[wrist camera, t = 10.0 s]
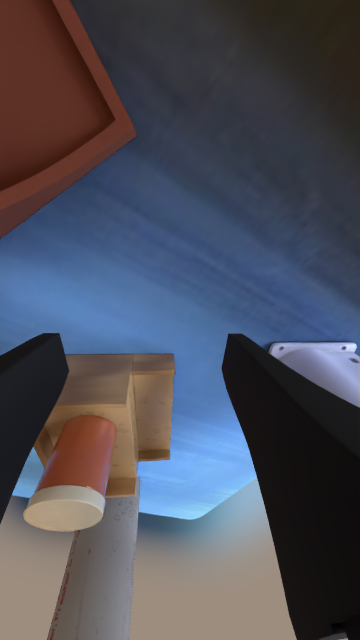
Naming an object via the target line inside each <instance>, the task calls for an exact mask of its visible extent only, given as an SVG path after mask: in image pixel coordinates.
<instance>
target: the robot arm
mask: <svg viewBox="0 0 360 640" xmlns="http://www.w3.org/2000/svg"><path fill="white" fill-rule="evenodd" d="M280 347H281V348H280ZM356 347H357V345H356V344H354V343H352V342H348V343H274V344H272V345H271V347H270V350H269V353H268V352H267V351H266V350H264V349H263V348H262V347H260V346H259V345H258V344H256V343H255V342H253V341H252V340H251V339H249V338H248V337H246V336H245V335H243V334H228V339H227V344H226V349H225V354H224V359H223V364H222V373H223V377H224V381H225V385H226V389H227V392H228V394H229V397H230V400H231V402H232V405H233V408H234V410H235V413H236V415H237V418H238V420H239V423H240V426H241V428H242V431H243V433H244V436H245V439H246V441H247V444H248V447H249V450H250V454H251V457H252V461H253V464H254V468H255V471H256V475H257V479H258V482H259V486H260V490H261V494H262V497H263V501H264V505H265V509H266V513H267V517H268V521H269V525H270V529H271V534H272V538H273V542H274V546H275V551H276V555H277V560H278V564H279V569H280V573H281V578H282V582H283V587H284V592H285V597H286V601H287V606H288V611H289V615H290V619H291V622H292V625H293V629H294V631H295V635H296V638H297V640H338V639H344V638H348V640H360V357H359V356H357V355H356V354H355V353H354V351H355V349H356ZM68 373H69V368H68V364H67V360H66V356H65V353H64V349H63V345H62V342H61V338H60V334H59V333H43V334H41V335H39V336H36V337H34V338H32V339H31V340H29V341H27V342H25V343H23V344H21V345H19V346H17V347H16V348H14V349H12V350H10V351H8V352H6V353H5V354H3V355H1V356H0V523H1V521H2V518H3V516H4V513H5V511H6V508H7V505H8V503H9V500H10V498H11V495H12V493H13V490H14V488H15V486H16V483H17V481H18V479H19V476H20V474H21V471H22V469H23V467H24V464H25V462H26V460H27V458H28V456H29V454H30V452H31V450H32V448H33V446H34V444H35V442H36V440H37V438H38V436H39V434H40V433H41V431H42V429H43V427H44V425H45V423H46V421H47V419H48V418H49V416H50V414H51V412H52V410H53V408H54V406H55V404H56V402H57V400H58V399H59V397H60V395H61V393H62V390H63V387H64V385H65V382H66V379H67V376H68Z"/></svg>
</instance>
